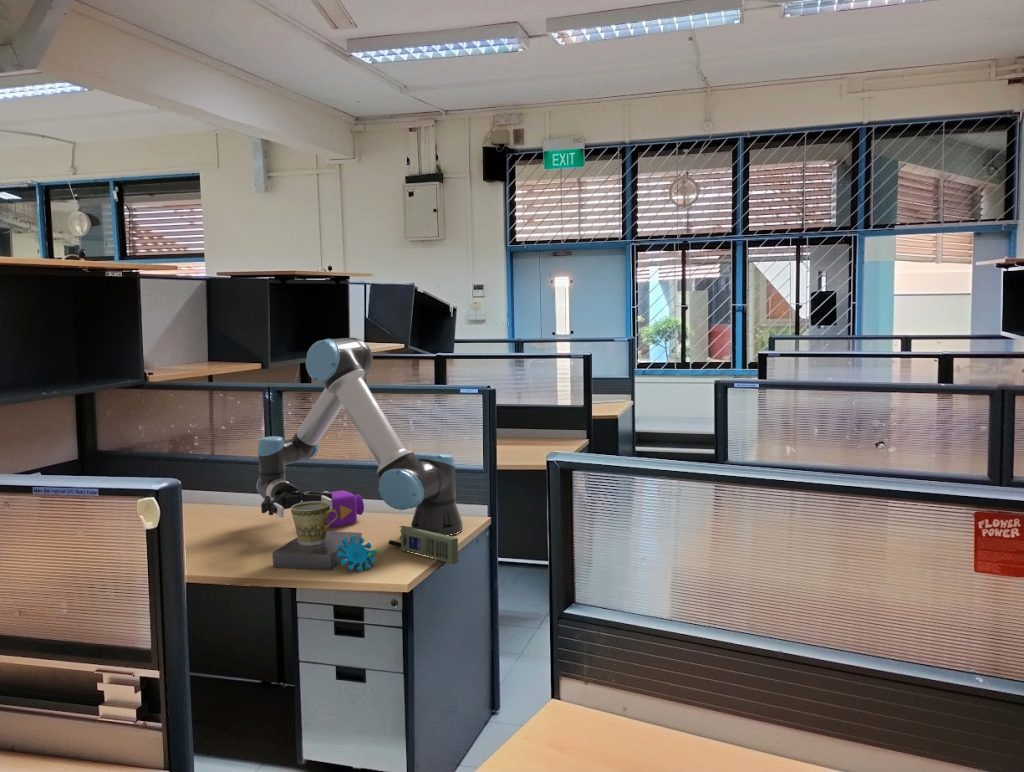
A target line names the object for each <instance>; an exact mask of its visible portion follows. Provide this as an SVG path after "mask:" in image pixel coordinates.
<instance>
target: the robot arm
mask: <svg viewBox="0 0 1024 772" xmlns="http://www.w3.org/2000/svg"><path fill="white" fill-rule="evenodd" d="M373 356H374V355H373V352H372V349H371V348H370V346H369V345H368V344H367V343H366V342H365V341H364V340H362V339H360V338H357V337H345V338H344V337H343V338H334V339H333V338H325V339H323V340H317V341H316V342H314V343H313V344H312V345H311V346H310V347H309V349H308V350H307V352H306V358H305V369H306V371H307V374H308V375H309V377H310V378H311V379H312V380H314V381H315V382H318V383H323V385H324V389H323V391H322V392H321V393H320V395H319V396H318V398H317V400H316V402H315V403H314V405H313V406H312V408H311V409H310V410H309V412H308V414H307V415H306V417H305V419H304V420H303V422H302V423H301V424H300V426H299V427H298V429H297V431H296V432H295V433H294V435H293V436H292V438H290V439H285V440H284V438H283V437H282V436H276V435H272V436H270V435H269V436H264V437H261V438H259V439H258V441H257V442H258V443H257V454H258V471H259V475H258V476H259V477H258V480H257V482H256V490H257V493H258V494H259V495H260V496H261V497H262V498H263V499H264V500H263V501H262V503H260V504H261V506H260V508H261V513H262V514H266V513H267V512H268V515H269V516H273V515H274V514H275V515H277V516H278V517H280V518H281V519H282V518H285V513H284V512H285V511H284V510H288V509H291V506H293V505H295V504H298V503H302V502H310V501H322V502H327V503H329V504H330V508H329V509H332V493H327V492H325V491H315V490H312V489H308V490H307V491H299V490H298V488H297V486H295V485H294V484H292V483H290V482H289V481H287V480H286V465H291V464H294V463H295V464H296V463H298V462H302V461H303V462H304V461H308V460H310V459H311V458H314V457H315V456H317V455H318V453H319V448H320V445H319V442H320V440H321V439H322V438H323V437H324V435H325V433H326V432H327V430H328V429H329V427H330V426H331V424H332V423H333V421H334V420H335V419H336V417H337V415H338V414H339V412H340V411H341V409H342V408H344V410H345V412H346V413H347V414H348V416H349V419H350V420H351V421H352V423H353V424H354V426H355V428H356V430H357V432H358V433H359V434H360V436H361V437H362V440H363V442H364V443H365V445H366V446H367V448H368V449H369V452H370V453H371V455H372V456H373V458H374V460H375V461H376V464H378V465H377V467H378V468H377V472H376V475H377V476H378V477H379V480H378V485H379V486H378V491H379V492H378V493H379V495H380V497H381V498H382V500H383V502H384V503H385V504H386V505H388V506H389V507H390V508H393V509H395V510H397V511H398V510H399V511H400V510H401V511H405V510H409V509H413V508H415V509H414V512H413V516H412V520H411V524H410V527H412V528H416V529H421V530H425V531H430V532H434V533H439V534H443V535H450V534H454V533H457V532H459V531H461V530H462V529H464V528H463V520H462V518H461V515H460V512H459V508H458V506H457V500H456V498H457V497H456V496H457V494H456V463H455V457H454V456H453V455H452V454H449V453H442V452H441V453H440V452H439V453H438V452H437V453H436V452H419V453H416V454H415V452H414V451H413V450H409V449H406V448H405V446H404V445H403V443H402V441H401V439H400V438H399V436H398V434H397V433H396V432H395V429H394V428H393V426H392V425H391V423H390V421H389V420H388V418H387V417H386V415H385V413H384V412H383V410H382V408H381V407H380V405H379V403H378V402H377V400H376V398H375V397H374V395H373V393H372V391H371V389H370V388H369V386H368V385H367V383H366V382H365V380H366V379H367V377H368V375H369V374H370V371H371V369H372V366H373V360H374V359H373ZM324 492H325V493H324ZM462 531H463V530H462ZM462 531H461V532H462Z"/></svg>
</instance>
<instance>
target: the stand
mask: <svg viewBox="0 0 1024 772" xmlns="http://www.w3.org/2000/svg"><path fill="white" fill-rule="evenodd" d="M351 536H354V537H356V539H355V541H354V543H357V542H359V539H360V538H361V537H362V538H363V535H362V532H355V531H354V532H352V531H348V532H347V531H329V530H326V539H325V542H324V543H322V544H320V545H314V546H302V545H301V544H300V543H299V541H298V537H295V538H293V539H292V540H290V541H289V542H287V543H285V544H284V545H281V547H279V548H277V549H275V550H274V551H272V568H273V567H278V568H277V569H293V568H295V570H296V569H298V570H312V571H313V570H316V571H332V570H334V569H335V568H337V567H338V566H339V565H340V564H341V560H342V559H344V560H345V559H346V558H343V557H340V558H338V557H337V553H338V552H339V551H340V552H342V554H345V553H344V552H343V551H341V550H338V549H337V547H338V545H339V544H342V545H343V548H344V549H346V547H345V545H344V544H343V543H342V540H343V539H345V538H347V539H348V542H347V544H349V545H350V544H351V541H350V538H351ZM360 545H363V543H360ZM346 560H347V559H346ZM337 565H338V566H337ZM334 567H335V568H334ZM333 568H334V569H333Z"/></svg>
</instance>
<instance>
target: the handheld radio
mask: <svg viewBox="0 0 1024 772" xmlns="http://www.w3.org/2000/svg"><path fill="white" fill-rule="evenodd" d="M399 528H400V530H399V533H400V537H399V540H400V542H399V541H395V540H393V539H390V540H389V541H388V542H387V543H388V545H390V546H393V547H397V548H400V549H401V550H404V551H409V552H413V553H418V554H421V555H426V556H429V557H433V558H436V559H437V560H436V561H439V562H443V563H447V564H450V565H454V564H457V563H459V538H458V537H456V536H453V535H452V536H447V535H443V534H439V533H434V532H430V531H425V530H421V529H416V528H412V527H411V526H406V525H400V526H399ZM401 550H400V551H401ZM404 551H403V552H404Z"/></svg>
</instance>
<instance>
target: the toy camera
mask: <svg viewBox="0 0 1024 772" xmlns="http://www.w3.org/2000/svg"><path fill="white" fill-rule="evenodd" d="M323 492H324V493H325V492H327V493H332V509H335V510H337V512H338V518H337V519H336V520H335V521H334V522H332V523H331V524H330V526H328V527H327V528H332V529H333V528H338V527H344V526H349V525H353V524H355V523H357V521H358V519H357V518H358V516H357V515H359V516H361V515H362V514H363V513H364V511H365V504H364V500H363V498H362V496H361V495H360V494H356V495H355V494H353V493H352V492H349V491H347V490H336V491H330V492H329V491H326V490H325V491H323ZM329 510H330V509H329ZM335 518H336V513H335V512H334V511H331V512H330V513H329V516H328V522H327V525H329V523H330V522H331V521H332V520H334V519H335Z"/></svg>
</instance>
